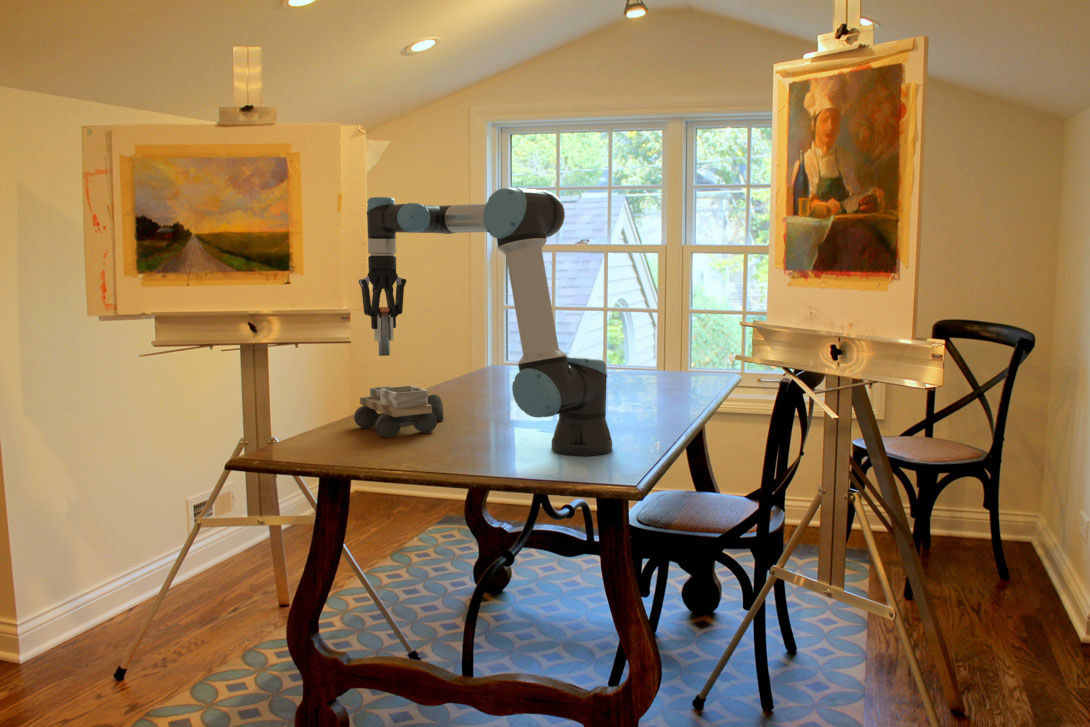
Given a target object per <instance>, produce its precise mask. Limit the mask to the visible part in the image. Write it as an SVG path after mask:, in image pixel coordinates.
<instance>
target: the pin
mask: <svg viewBox="0 0 1090 727" xmlns="http://www.w3.org/2000/svg"><path fill="white" fill-rule="evenodd" d="M389 312H390V307H388V306H379V311H378V317H380V318H381V341H378V356H379V357H386V356H387V357H388V356H390V355H391V351H390V350H391V346H390V342H391V341H390V339H389V317H390V316H389Z"/></svg>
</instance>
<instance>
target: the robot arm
mask: <svg viewBox="0 0 1090 727" xmlns="http://www.w3.org/2000/svg"><path fill="white" fill-rule="evenodd" d="M366 203H367V204H366V206H367V207H366V209H367V210H366V221H367V253H368V254H370V255H368V256H367V257H368V260H367V261H368V265H367V266H368V273H367V276H366V277H364V278H360V279H358V284H359V286H360V287H361V297H362V304H363V305H362V307H363V314H364V315H365V316H369V317H370V327H371V329H372V330H373V331H374V333H373V334H374V341H375V342H379V341H381V318H380V317H378V311H379V307H380V301H381V293H382V290H384V293H385V299H386V304H387V305H386V307H390V312H389V339H390V342H392V341H394V329H395V328H396V327H397V317H398V316H400V315H402V314H403V308H404V293H405V286H406V283H407V279H406V278H402V277H400V276H398V273H397V257H396V256H395V254H397V240H396V239H397V237H396V234H397V233H400V234H401V233H402V234H403V233H406V234H407V233H409V234H410V233H411V234H416V233H418V234H442V235H443V234H445V235H451V234H457V233H459V234H461V233H462V234H463V233H465V234H466V233H488V234H489V235H490V236H491V237H492V238H494V239H496V243H497V247H498V248H497V249H498V251H500V252H501V253H502V254H504V255H505V258H506V263H507V269H508V274H509V275H508V276H509V281H510V286H511V287H510V288H511V293H512V299H513V303H514V304H513V305H514V310H515V316H516V321H517V327H518V334H519V338H520V339H519V340H520V345H521V351H522V357H520V359H519V361H518V363H517V365H518V366H517V367H518V371H519V372H518V373H517V374H516V375H515V377H514V380H513V381H512V385H511V386H512V387H511V390H512V395H513V399H514V401H515V403H516V405H517V406H518V408H519V410H521V411H522V412H524V413H525V414H526V415H528V416H530V417H532V418H549V417H551V418H552V417H554V416H556V415H558V420H557V423H556V426H555V430H554V432H553V436H552V438H551V450H552V451H553V452H556V453H558V454H563V455H569V456H579V457H580V456H583V457H585V456H586V457H589V456H599V455H604V454H608V453H611V452H612V450H613V440H612V437H611V433H610V429H609V426H608V423H607V418H606V417H607V416H606V415H607V378H608V374H607V363H606V362H605V361H604V360H602V359H599V358H598V359H597V358H596V359H595V358H588V357H576V356H567V354H566V353H565V352H563V351H562V350H561V349H560V348H559V341H558V336H557V331H556V324H555V320H554V313H553V308H552V303H551V302H552V301H551V294H550V291H549V284H548V278H547V273H546V266H545V261H544V255H543V254H544V253H543V248H544V247H545V245H546V243H547V242H548V240H547V238H549V237H552V236H554V235H555V234H557V233H558V232H559V231H560V229H562V227H563V224H564V223H565V218H566V217H565V216H566V215H565V214H566V213H565V207H564V205H563V203H562V201H561V200H560V198H559V197H558V196H557V195H555V194H554V193H552V192H550V191H547V190H545V189H531V188H530V189H529V188H520V187H516V186H513V187H501V188H499V189H497V190H495V191H494V192H493V193H491V194H490V196H489V197H488V200H487V202H485V203H468V204H467V203H465V204H454V205H453V204H450V205H446V204H445V205H434V204H433V205H430V204H422V203H415V202H414V203H413V202H407V203H397V204H396V200H395V198H393V197H390V196H387V197H386V196H384V197H383V196H377V197H374V196H373V197H372V196H371V197H369V198H368V199H367V202H366ZM370 284H371V285H372V298H371V295H370V294H371V292H370V291H371V290H370V287H369V285H370ZM394 284H396V288H395V291H394ZM394 292H395V297H394Z"/></svg>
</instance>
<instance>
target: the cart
mask: <svg viewBox="0 0 1090 727" xmlns="http://www.w3.org/2000/svg"><path fill="white" fill-rule="evenodd" d="M369 389H370V390H369V394H370V395H369V396H360V397H359V405H361V406H360V407H357V408H356V410H355V412H354V414H353V420H354V422H355V424H356V425H357V426H358V427H360V428H363V429H371V428H373V427H375V431H376V433H377V434H378V435H379V436H381V437H383V438H386V439H391V438H393V437H395V436H396V435H397V434H398V433H399V431H400V429H401V427H407V426H409V427H410V426H413V427H414V429H415V430H416V431H418V432H421V433H423V434H428V433H429V434H430V433H432V432H433V431H434V430H435V429H436V427H437V425H438V420H437V417H436V415H435V414H434V413H433V412H432V405H429V404H428V396H429V394H428V391H429V390H427V389H425V388H421V387H417V386H414V385H403V386H402V385H401V386H400V385H399V386H389V385H387V386H379V387H370V388H369ZM378 412H380V413H378ZM414 415H415V416H414ZM413 416H414V419H413ZM412 419H413V420H412Z"/></svg>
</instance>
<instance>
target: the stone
mask: <svg viewBox="0 0 1090 727" xmlns="http://www.w3.org/2000/svg"><path fill="white" fill-rule="evenodd" d="M428 404H429V405H432V412H433V413H434V414H435V415H436V417H437V421H439V422H442V421H443V422H444V419H445V418H444V404H443V400H442V398H441V397H440V396H439V395H437V394H430V395H428ZM414 416H415V415H414ZM414 416H413V419H414ZM413 419H412V420H411V421H413Z"/></svg>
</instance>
